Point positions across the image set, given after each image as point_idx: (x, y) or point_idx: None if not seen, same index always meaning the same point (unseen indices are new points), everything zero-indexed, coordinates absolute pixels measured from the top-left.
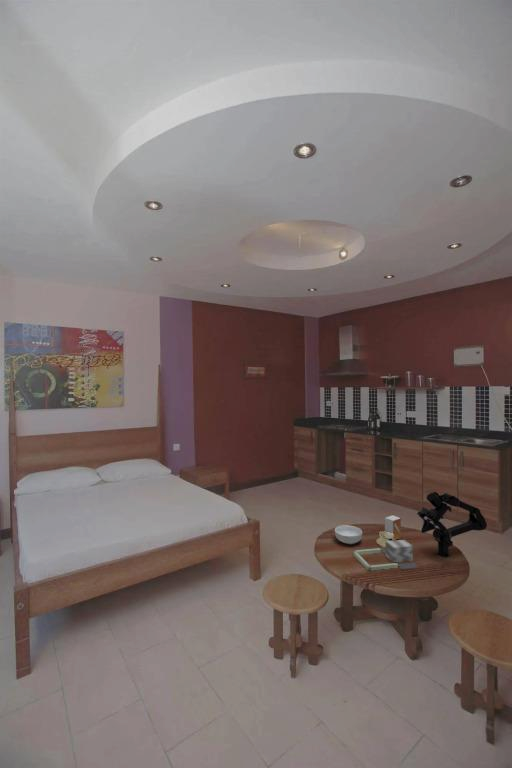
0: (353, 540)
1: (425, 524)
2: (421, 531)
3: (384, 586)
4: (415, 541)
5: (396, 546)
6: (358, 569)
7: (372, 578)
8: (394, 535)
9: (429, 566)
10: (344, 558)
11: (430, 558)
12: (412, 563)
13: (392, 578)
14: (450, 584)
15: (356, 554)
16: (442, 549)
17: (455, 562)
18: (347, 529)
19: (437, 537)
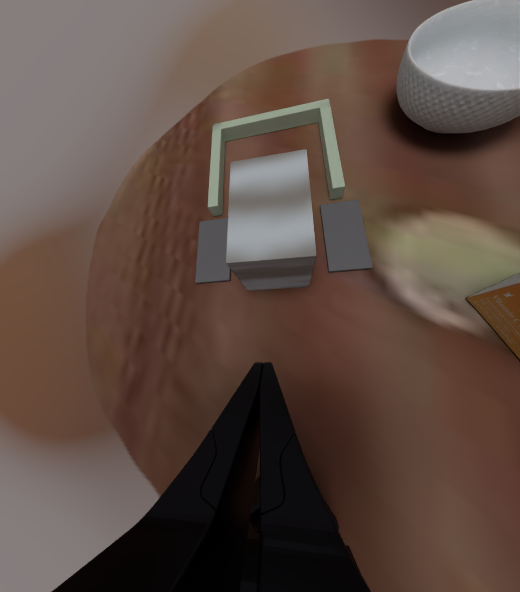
0: (398, 86)
1: (262, 505)
2: (264, 364)
3: (146, 154)
4: (477, 443)
5: (239, 180)
6: (232, 116)
7: (184, 138)
8: (507, 301)
9: (195, 331)
10: (300, 92)
11: None
12: (223, 274)
13: (169, 182)
14: (87, 328)
15: (298, 105)
16: (254, 500)
17: None
18: None
19: (256, 547)
